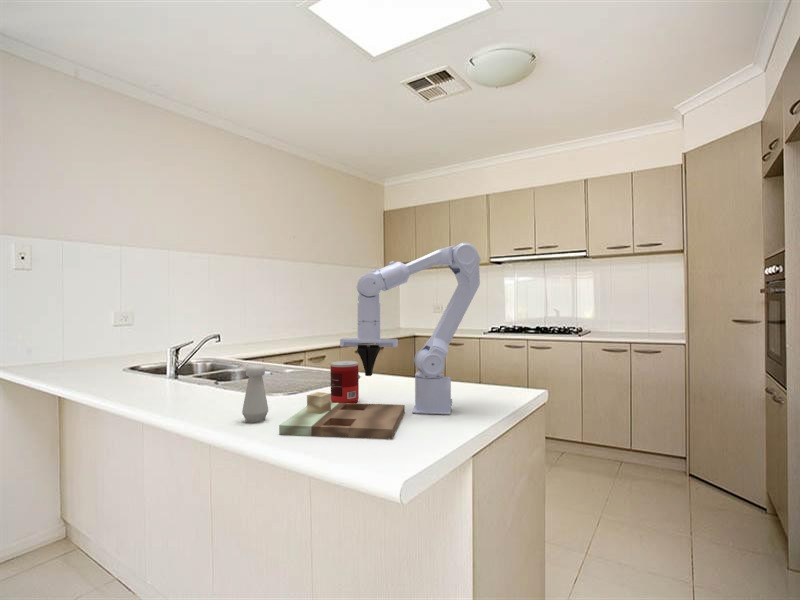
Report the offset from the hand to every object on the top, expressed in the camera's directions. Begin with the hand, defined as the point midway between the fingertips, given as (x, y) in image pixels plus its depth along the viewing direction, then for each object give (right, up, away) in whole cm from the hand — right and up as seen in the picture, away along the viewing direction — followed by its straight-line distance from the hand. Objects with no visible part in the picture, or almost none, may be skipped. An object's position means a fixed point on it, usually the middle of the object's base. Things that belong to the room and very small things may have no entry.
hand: (368, 375), depth 113 cm
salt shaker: (-26, -10, -8) cm, 29 cm away
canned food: (-7, -10, +12) cm, 17 cm away
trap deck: (-4, -9, -10) cm, 14 cm away
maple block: (-11, -7, -7) cm, 15 cm away
